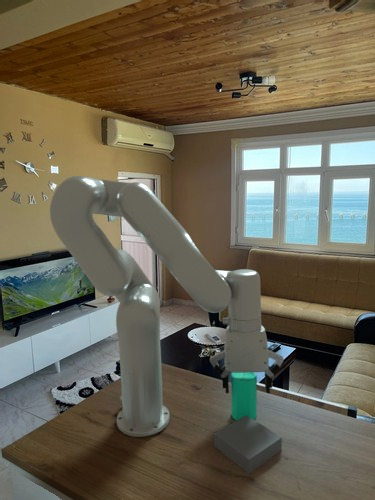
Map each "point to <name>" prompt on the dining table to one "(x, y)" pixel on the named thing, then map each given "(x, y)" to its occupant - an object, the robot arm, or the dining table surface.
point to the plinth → (247, 443)
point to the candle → (244, 395)
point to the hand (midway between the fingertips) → (247, 390)
